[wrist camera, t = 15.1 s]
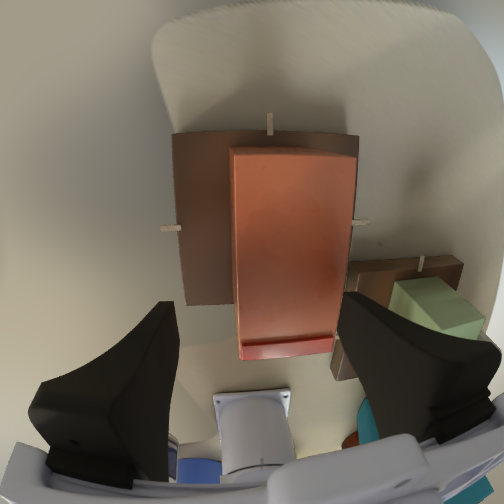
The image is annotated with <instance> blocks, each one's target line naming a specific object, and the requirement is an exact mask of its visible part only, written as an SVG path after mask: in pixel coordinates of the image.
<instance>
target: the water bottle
mask: <svg viewBox="0 0 504 504" xmlns="http://www.w3.org/2000/svg"><path fill="white" fill-rule="evenodd" d="M220 475H223V474H222V463H220V462H217V461H214V460H209V459H200V458H189V459H181V460H178V467H177V483H189V484H220Z"/></svg>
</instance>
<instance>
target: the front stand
mask: <svg viewBox="0 0 504 504" xmlns="http://www.w3.org/2000/svg"><path fill="white" fill-rule="evenodd" d="M246 146H275V147H309V148H314V149H319V150H324V151H329V152H334V153H338V154H343V155H347V156H352V157H355V158H356V159H357V161H356V178H355V192H354V204H353V215H352V225H351V234H350V243H349V251H348V259H347V266H346V273H345V280H344V287H343V292H344V290H345V283H346V277H347V270H348V263H349V255H350V247H351V239H352V230H353V225H368V219H364V220H354V210H355V199H356V186H357V172H358V153H359V136H355V135H345V134H333V133H319V132H301V131H273V113H267V131H266V130H243V131H208V132H190V133H176V134H172V158H173V159H172V160H173V178H174V194H175V209H176V221H177V225H162V226H160V231H177V232H178V242H179V253H180V262H181V271H182V280H183V288H184V296H185V304H186V306H195V305H220V304H234V298H233V278H232V249H231V213H230V166H229V147H246ZM342 296H343V293H342Z"/></svg>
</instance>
